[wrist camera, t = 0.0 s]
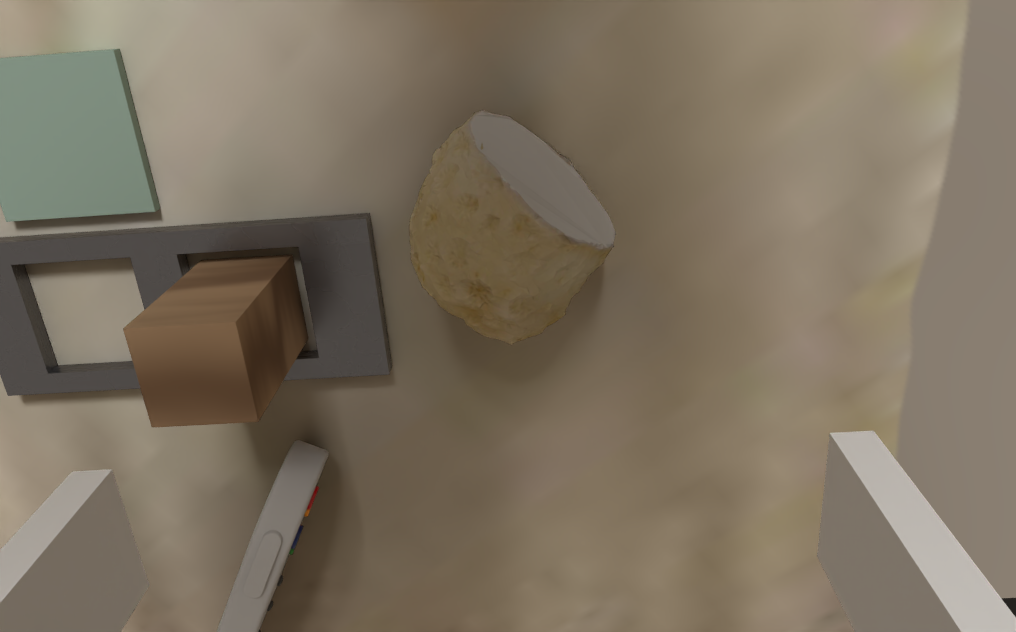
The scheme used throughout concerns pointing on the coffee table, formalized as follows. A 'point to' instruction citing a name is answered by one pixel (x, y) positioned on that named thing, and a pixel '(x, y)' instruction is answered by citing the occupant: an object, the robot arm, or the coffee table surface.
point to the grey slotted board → (162, 262)
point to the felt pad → (70, 138)
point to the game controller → (274, 538)
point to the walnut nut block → (219, 341)
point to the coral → (505, 229)
